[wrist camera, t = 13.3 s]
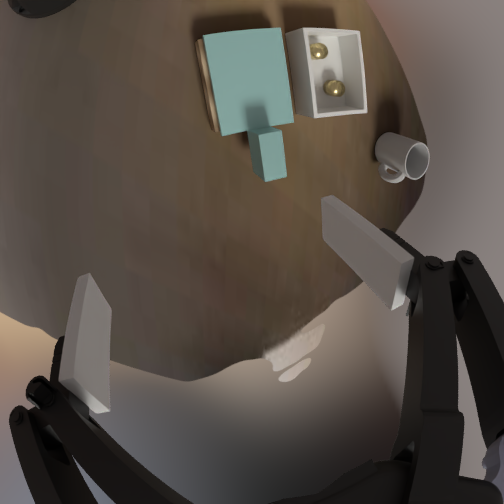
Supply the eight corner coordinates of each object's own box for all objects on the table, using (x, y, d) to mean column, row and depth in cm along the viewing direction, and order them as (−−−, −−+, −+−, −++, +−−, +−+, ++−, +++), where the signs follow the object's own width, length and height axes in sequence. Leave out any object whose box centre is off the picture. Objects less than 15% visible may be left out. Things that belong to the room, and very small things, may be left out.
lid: (201, 37, 30) (209, 28, 26) (276, 29, 32) (293, 22, 28) (228, 176, 43) (238, 188, 38) (294, 161, 44) (311, 171, 40)
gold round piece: (322, 80, 40) (330, 80, 39) (336, 79, 41) (344, 80, 39) (323, 96, 42) (331, 97, 40) (337, 95, 43) (345, 96, 41)
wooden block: (194, 43, 33) (197, 39, 30) (273, 33, 35) (280, 30, 33) (211, 129, 41) (215, 132, 38) (284, 115, 43) (293, 117, 40)
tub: (284, 33, 35) (302, 27, 30) (338, 34, 37) (359, 31, 32) (296, 113, 43) (314, 118, 38) (346, 108, 45) (367, 112, 40)
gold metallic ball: (303, 44, 36) (311, 42, 34) (319, 44, 37) (327, 42, 35) (306, 60, 38) (313, 59, 36) (321, 59, 38) (329, 59, 36)
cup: (403, 145, 53) (434, 157, 46) (379, 181, 56) (408, 198, 48) (385, 124, 49) (418, 134, 42) (360, 163, 52) (391, 178, 45)
